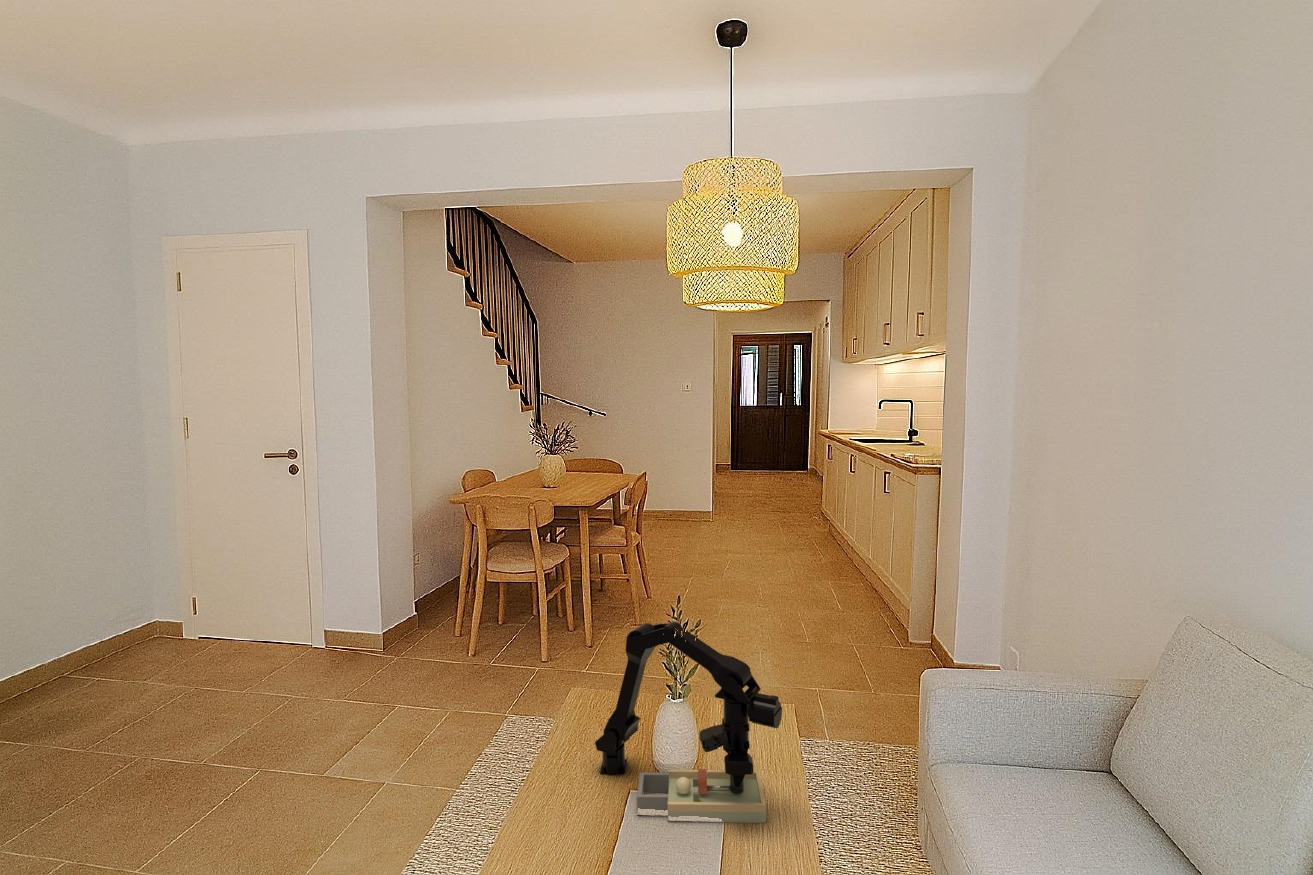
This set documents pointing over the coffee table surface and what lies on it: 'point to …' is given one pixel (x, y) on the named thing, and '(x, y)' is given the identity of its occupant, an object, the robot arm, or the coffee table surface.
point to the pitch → (718, 798)
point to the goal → (653, 791)
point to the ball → (683, 785)
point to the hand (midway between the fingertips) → (736, 782)
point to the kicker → (704, 787)
